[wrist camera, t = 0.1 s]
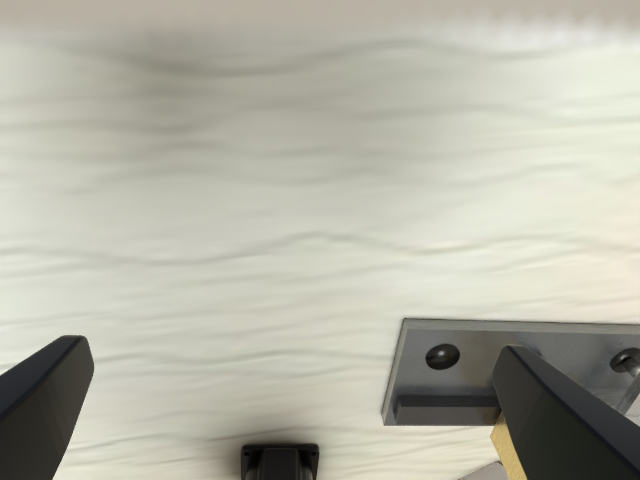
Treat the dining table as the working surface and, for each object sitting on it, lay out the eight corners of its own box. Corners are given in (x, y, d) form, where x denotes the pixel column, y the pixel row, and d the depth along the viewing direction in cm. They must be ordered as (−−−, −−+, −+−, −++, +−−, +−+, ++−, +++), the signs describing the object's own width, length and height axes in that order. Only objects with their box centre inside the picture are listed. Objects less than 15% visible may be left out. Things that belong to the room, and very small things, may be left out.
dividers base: (611, 415, 34) (642, 454, 31) (381, 414, 32) (390, 455, 29) (670, 325, 29) (714, 362, 26) (404, 318, 28) (417, 356, 25)
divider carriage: (532, 425, 32) (587, 521, 26) (484, 425, 32) (529, 522, 26) (568, 357, 28) (642, 450, 22) (514, 356, 28) (575, 450, 22)
